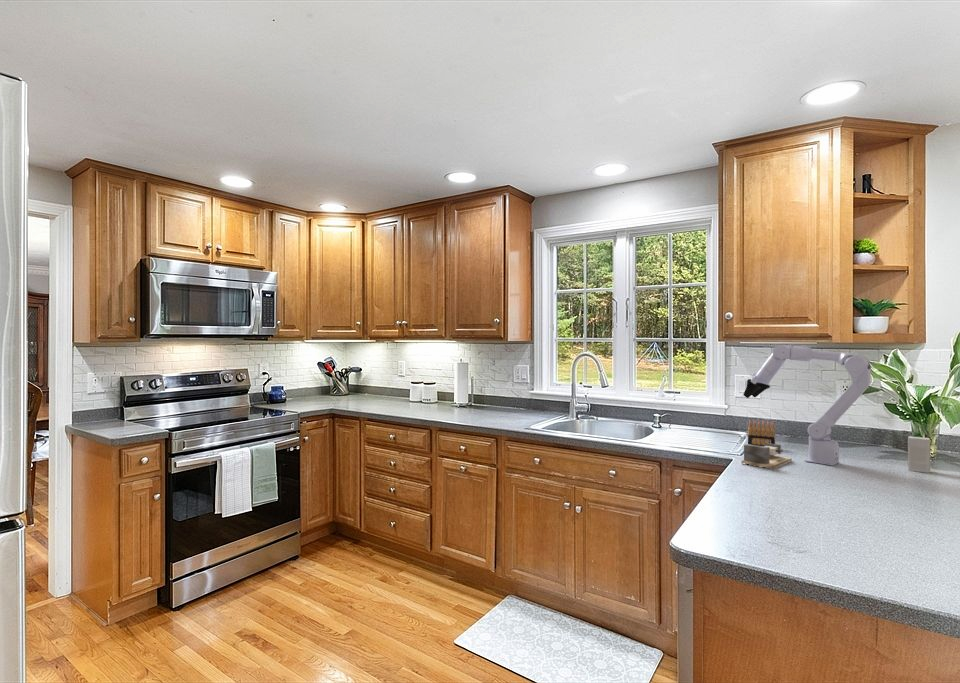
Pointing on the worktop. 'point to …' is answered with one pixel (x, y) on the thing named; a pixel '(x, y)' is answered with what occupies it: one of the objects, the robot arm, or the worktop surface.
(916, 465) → the skincare box
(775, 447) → the gauge ram
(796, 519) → the worktop surface
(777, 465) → the gauge bench
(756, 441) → the ammunition clip
